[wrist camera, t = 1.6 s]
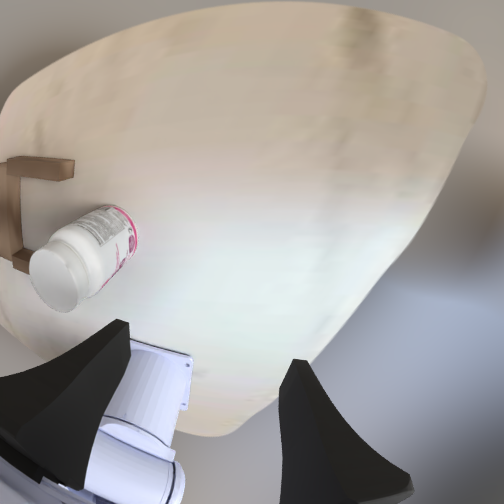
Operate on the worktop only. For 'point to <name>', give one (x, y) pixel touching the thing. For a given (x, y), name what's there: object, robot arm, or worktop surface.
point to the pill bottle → (83, 257)
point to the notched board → (8, 201)
